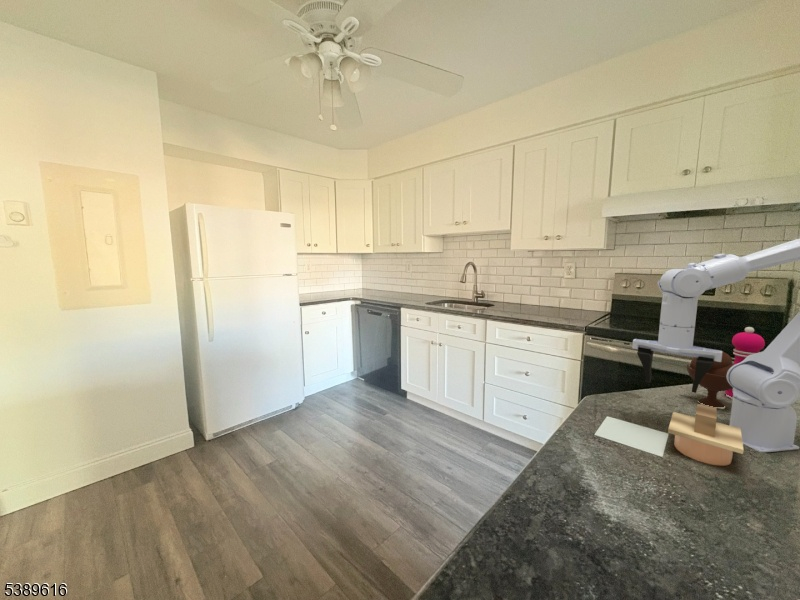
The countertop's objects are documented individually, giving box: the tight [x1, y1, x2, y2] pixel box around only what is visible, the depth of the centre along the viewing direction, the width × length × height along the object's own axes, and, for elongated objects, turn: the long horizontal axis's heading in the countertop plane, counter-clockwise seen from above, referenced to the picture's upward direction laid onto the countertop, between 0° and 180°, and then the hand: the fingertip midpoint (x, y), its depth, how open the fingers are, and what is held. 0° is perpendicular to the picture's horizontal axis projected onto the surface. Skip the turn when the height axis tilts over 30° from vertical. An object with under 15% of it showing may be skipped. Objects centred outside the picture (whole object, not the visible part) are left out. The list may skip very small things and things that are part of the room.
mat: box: [594, 416, 670, 458], centre depth 70 cm, size 12×12×1 cm
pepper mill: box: [724, 326, 766, 397], centre depth 87 cm, size 7×7×20 cm
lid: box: [667, 403, 745, 455], centre depth 62 cm, size 10×10×4 cm
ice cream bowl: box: [686, 349, 734, 407], centre depth 83 cm, size 11×11×15 cm
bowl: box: [673, 435, 734, 467], centre depth 63 cm, size 8×8×4 cm
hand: (670, 386), depth 70 cm, fingers open, 7 cm apart
